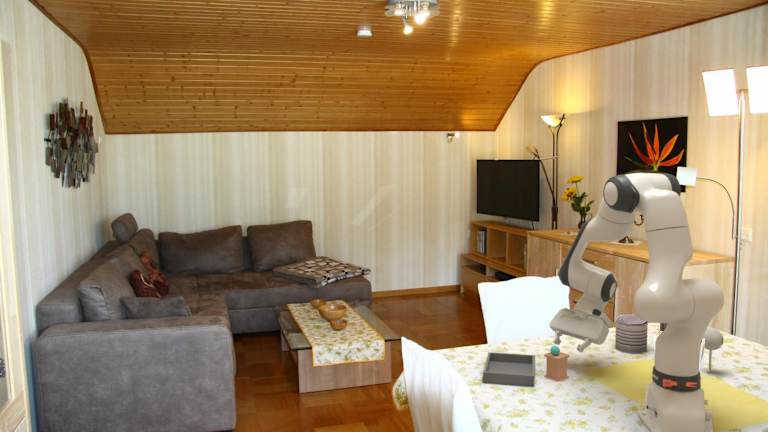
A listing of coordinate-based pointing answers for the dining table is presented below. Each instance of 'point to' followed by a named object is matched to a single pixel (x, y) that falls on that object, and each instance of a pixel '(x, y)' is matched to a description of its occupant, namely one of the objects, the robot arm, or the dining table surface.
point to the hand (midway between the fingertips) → (567, 347)
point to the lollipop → (712, 342)
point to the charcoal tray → (509, 369)
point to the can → (631, 334)
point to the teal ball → (555, 350)
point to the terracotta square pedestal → (556, 366)
